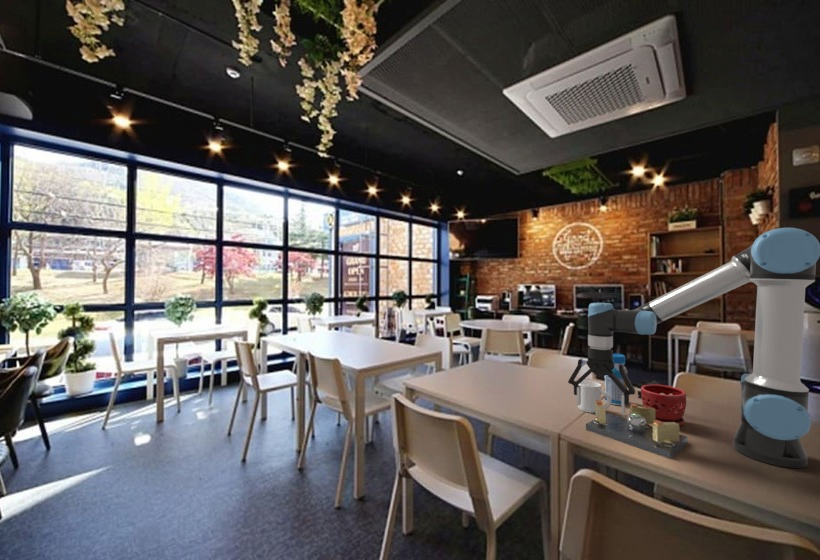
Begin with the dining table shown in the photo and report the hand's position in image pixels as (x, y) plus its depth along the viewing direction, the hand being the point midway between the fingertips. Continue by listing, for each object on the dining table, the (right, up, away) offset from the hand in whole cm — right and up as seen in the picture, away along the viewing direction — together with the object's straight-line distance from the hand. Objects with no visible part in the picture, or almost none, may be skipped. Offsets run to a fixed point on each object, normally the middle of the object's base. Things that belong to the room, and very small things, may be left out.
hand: (600, 409), depth 119 cm
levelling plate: (+8, -7, -6) cm, 12 cm away
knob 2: (+11, -4, -15) cm, 20 cm away
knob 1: (0, -4, 0) cm, 4 cm away
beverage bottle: (+21, -7, +26) cm, 34 cm away
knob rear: (+13, -4, -2) cm, 14 cm away
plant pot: (+26, -7, +6) cm, 27 cm away
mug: (+7, -7, +16) cm, 19 cm away
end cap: (+40, -7, +32) cm, 52 cm away
